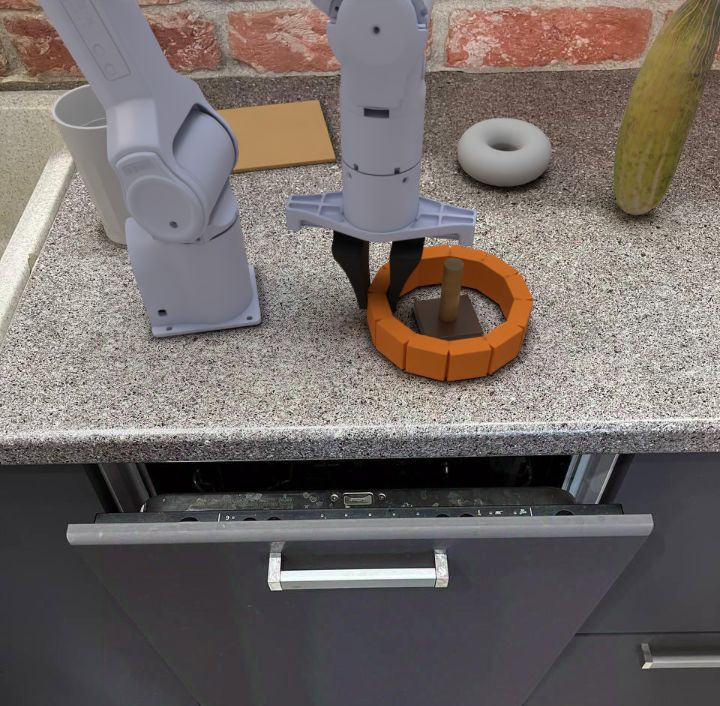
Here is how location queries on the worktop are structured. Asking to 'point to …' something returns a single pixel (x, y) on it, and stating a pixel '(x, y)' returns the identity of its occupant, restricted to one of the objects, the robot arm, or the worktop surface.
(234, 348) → the worktop surface
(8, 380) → the worktop surface
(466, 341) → the ring
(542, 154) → the donut
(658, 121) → the vegetable
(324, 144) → the mat
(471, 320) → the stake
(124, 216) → the cup
